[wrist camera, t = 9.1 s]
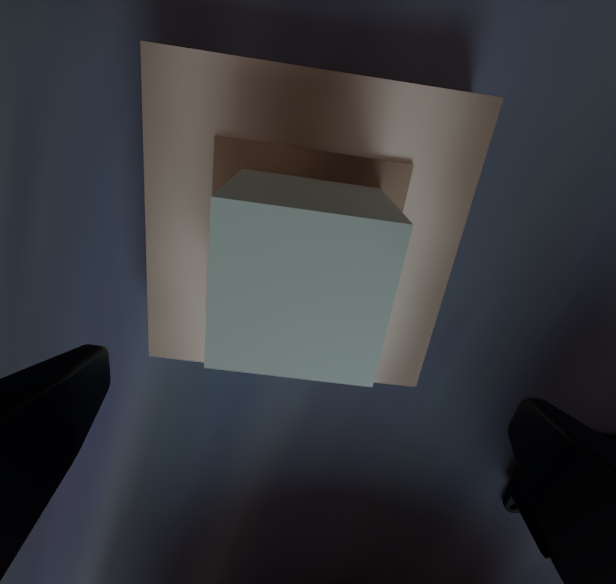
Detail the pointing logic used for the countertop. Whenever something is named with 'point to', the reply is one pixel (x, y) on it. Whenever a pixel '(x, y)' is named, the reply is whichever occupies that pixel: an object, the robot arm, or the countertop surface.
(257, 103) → the birch base
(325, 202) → the gray cube
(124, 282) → the countertop surface
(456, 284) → the countertop surface
